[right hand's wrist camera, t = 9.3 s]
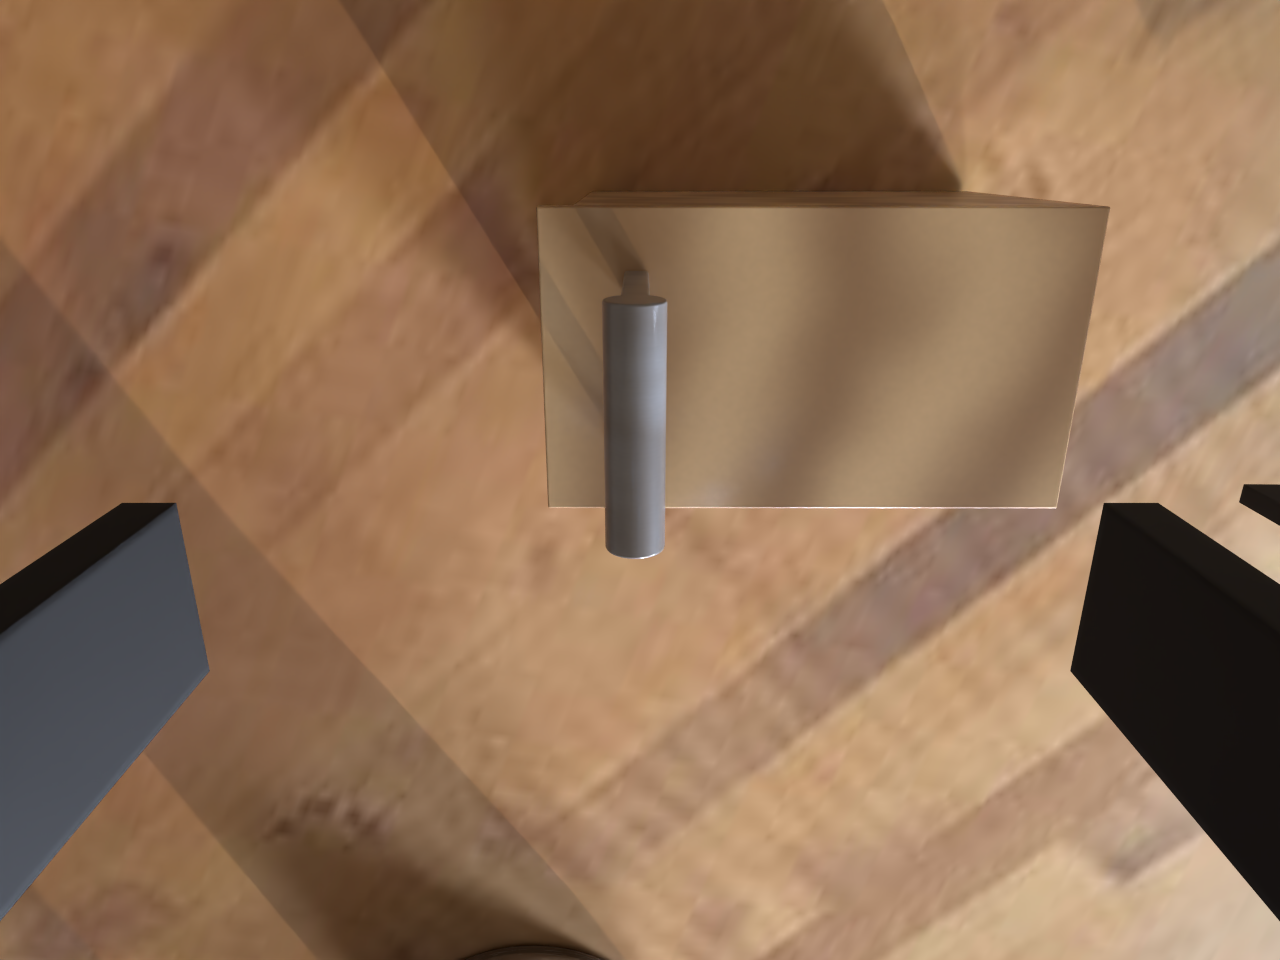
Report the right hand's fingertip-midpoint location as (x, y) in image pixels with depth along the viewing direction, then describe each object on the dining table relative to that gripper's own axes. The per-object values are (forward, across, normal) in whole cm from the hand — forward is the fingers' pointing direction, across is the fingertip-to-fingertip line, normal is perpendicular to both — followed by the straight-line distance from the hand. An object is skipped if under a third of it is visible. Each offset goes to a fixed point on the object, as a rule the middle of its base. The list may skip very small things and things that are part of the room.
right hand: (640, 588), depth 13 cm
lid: (+15, -5, 0) cm, 16 cm away
